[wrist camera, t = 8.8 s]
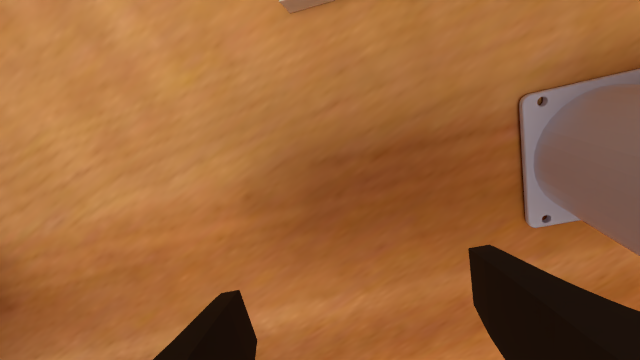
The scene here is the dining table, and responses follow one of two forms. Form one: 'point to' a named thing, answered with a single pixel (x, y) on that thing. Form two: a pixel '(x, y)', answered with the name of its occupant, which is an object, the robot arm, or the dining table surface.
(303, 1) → the socket board
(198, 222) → the dining table surface
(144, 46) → the dining table surface
